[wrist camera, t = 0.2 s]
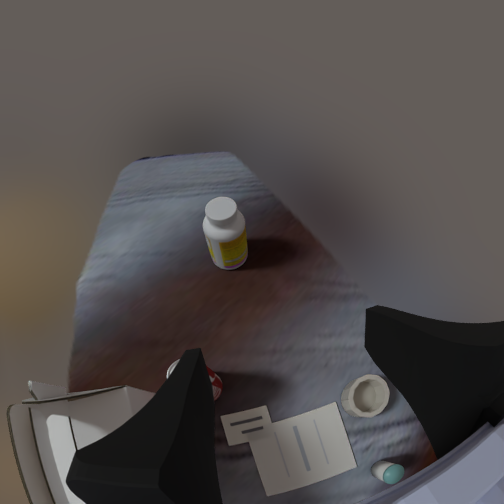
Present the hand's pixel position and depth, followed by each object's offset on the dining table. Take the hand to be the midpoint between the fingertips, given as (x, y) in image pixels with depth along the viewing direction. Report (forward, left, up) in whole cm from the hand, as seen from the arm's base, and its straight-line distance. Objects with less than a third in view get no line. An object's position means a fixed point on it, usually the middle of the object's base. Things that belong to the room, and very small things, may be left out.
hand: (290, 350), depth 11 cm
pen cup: (-6, -13, -31) cm, 34 cm away
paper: (-11, -2, -31) cm, 33 cm away
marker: (-19, -12, -31) cm, 38 cm away
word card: (-4, +5, -31) cm, 32 cm away
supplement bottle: (+25, 0, -31) cm, 40 cm away
